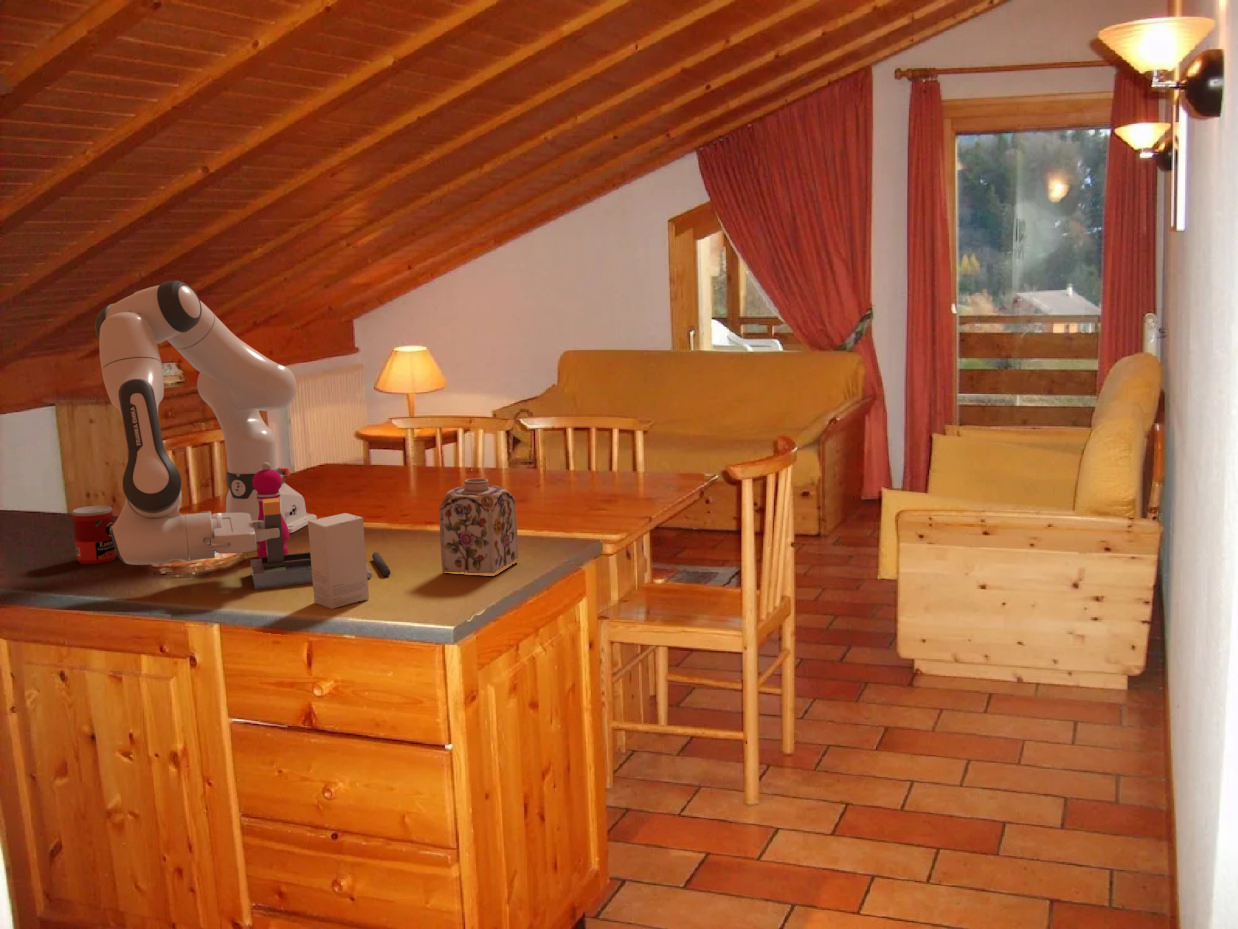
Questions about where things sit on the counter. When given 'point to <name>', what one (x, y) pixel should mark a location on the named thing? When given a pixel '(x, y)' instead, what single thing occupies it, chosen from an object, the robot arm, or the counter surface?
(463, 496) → the decorative jar
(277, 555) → the lever
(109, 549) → the canned food
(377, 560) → the dark grey capsule
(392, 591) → the counter surface
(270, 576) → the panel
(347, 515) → the skincare box
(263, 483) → the pepper mill
